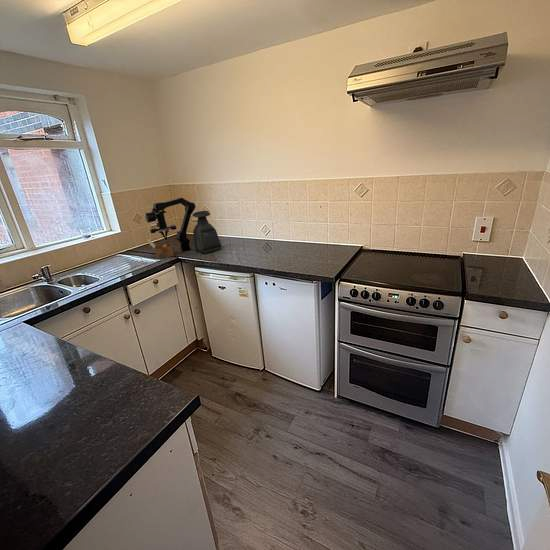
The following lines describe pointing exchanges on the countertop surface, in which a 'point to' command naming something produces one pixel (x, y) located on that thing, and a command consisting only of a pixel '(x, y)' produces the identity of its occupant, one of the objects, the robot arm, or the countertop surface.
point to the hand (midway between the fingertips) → (166, 239)
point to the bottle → (205, 234)
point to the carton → (164, 251)
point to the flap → (151, 243)
